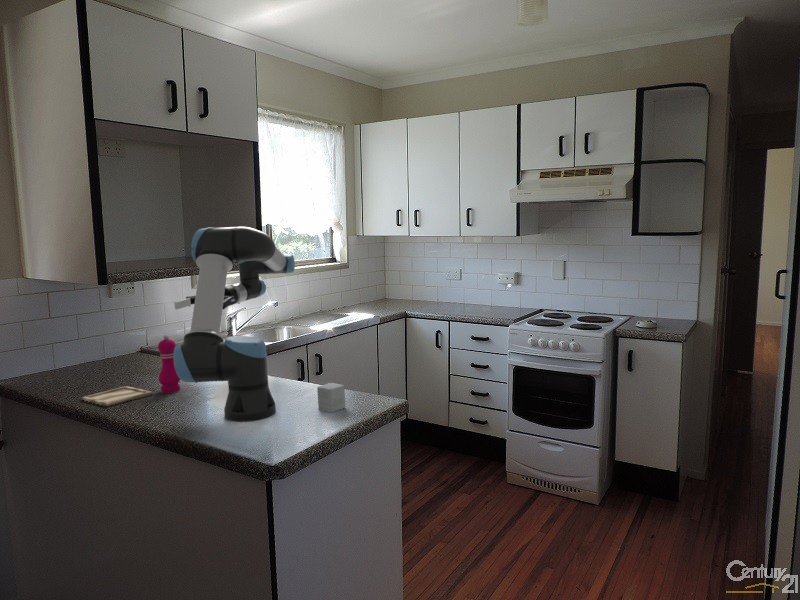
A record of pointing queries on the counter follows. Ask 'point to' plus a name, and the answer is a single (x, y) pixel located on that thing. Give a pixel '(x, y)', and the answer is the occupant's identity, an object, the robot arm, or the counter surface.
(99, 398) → the oak tray
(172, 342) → the pepper mill
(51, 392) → the counter surface
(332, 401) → the product box
